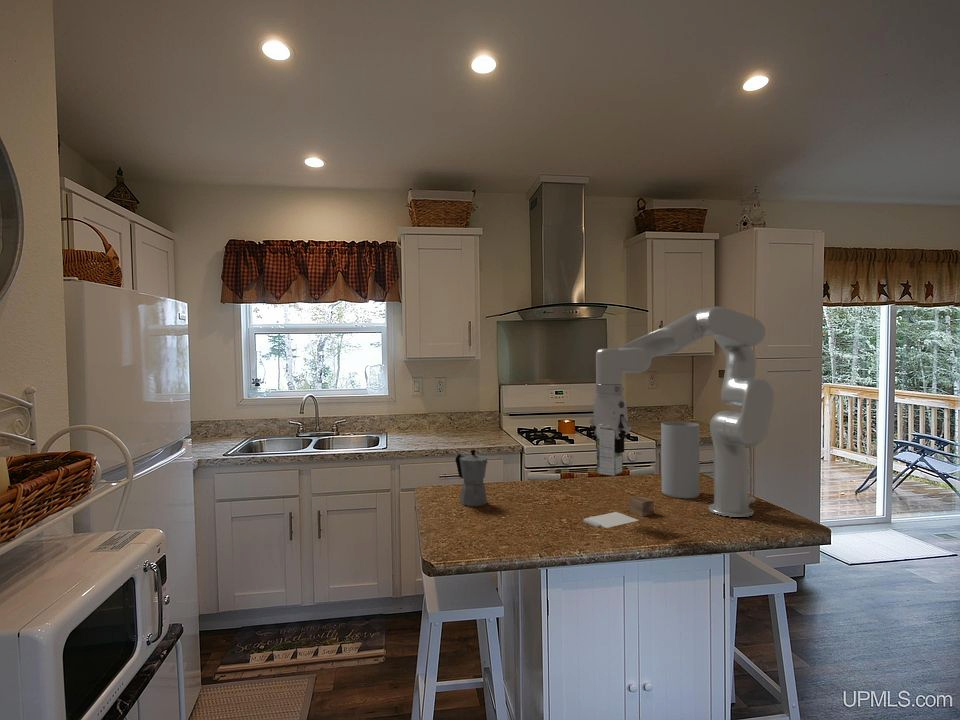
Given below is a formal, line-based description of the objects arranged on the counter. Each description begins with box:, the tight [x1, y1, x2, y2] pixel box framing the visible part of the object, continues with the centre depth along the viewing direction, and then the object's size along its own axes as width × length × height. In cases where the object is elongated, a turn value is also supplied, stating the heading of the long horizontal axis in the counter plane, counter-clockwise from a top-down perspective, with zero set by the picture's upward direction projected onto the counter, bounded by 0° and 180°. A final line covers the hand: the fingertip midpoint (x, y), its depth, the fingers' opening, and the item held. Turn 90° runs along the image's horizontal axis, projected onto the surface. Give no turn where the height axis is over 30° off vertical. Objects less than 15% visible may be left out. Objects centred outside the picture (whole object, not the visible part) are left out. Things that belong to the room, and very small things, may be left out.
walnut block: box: [629, 496, 655, 517], centre depth 154 cm, size 5×5×5 cm
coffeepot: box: [455, 448, 489, 507], centre depth 171 cm, size 15×9×18 cm, turn 44°
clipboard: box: [582, 511, 640, 529], centre depth 148 cm, size 16×12×1 cm
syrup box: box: [596, 425, 624, 477], centre depth 148 cm, size 6×6×14 cm
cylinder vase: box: [660, 421, 701, 500], centre depth 178 cm, size 12×12×25 cm
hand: (609, 450), depth 148 cm, fingers closed on syrup box, 7 cm apart
